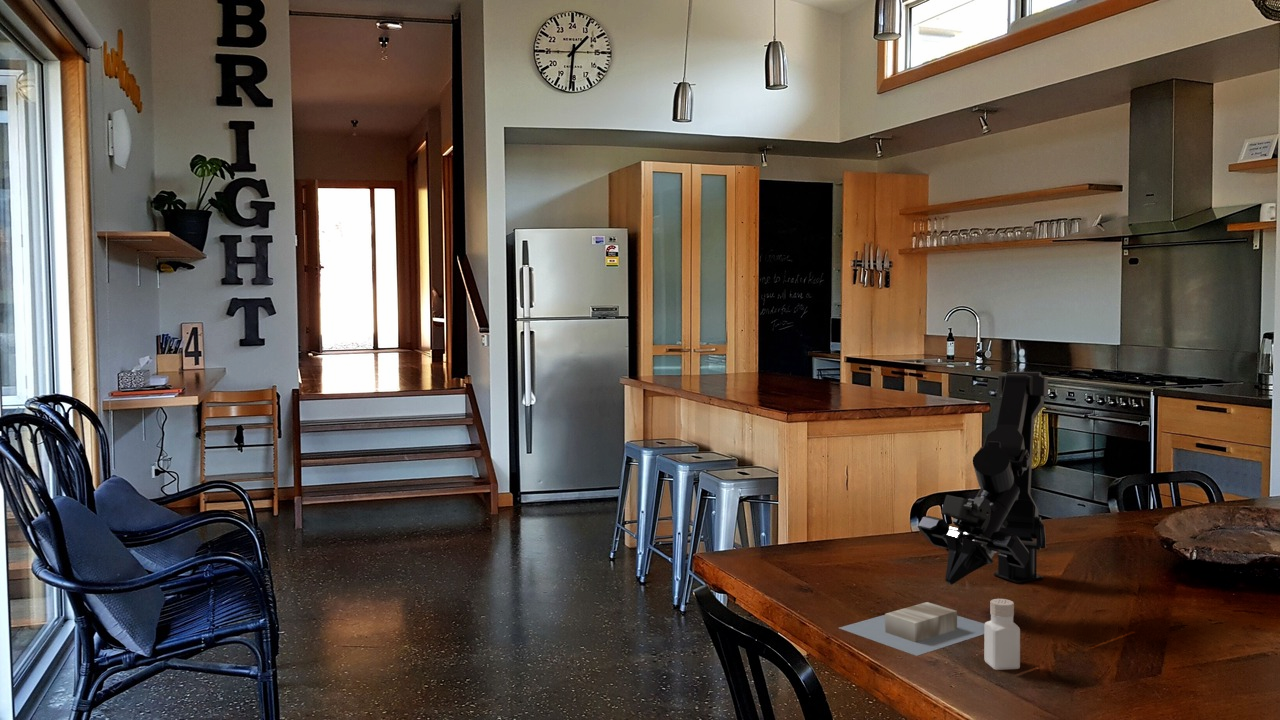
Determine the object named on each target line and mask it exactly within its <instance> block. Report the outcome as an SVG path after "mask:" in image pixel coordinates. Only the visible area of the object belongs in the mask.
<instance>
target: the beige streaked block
mask: <svg viewBox="0 0 1280 720" xmlns="http://www.w3.org/2000/svg"><path fill="white" fill-rule="evenodd" d="M884 615H885V632H886V633H889V634H892V635H895V636H898V637H901V638H904V639H907V640H910V641H912V642H918V641H921V640H925V639H928V638H931V637H934V636H937V635H941V634H944V633H947V632H950V631H954V630H957V616H958V610H955V609H953V608H948V607H945V606H942V605H939V604H936V603H931V602H929V601H926V602H922V603H918V604H916V605H912V606H908V607H904V608H901V609H898V610H893V611H890V612H886V613H884Z"/></svg>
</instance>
